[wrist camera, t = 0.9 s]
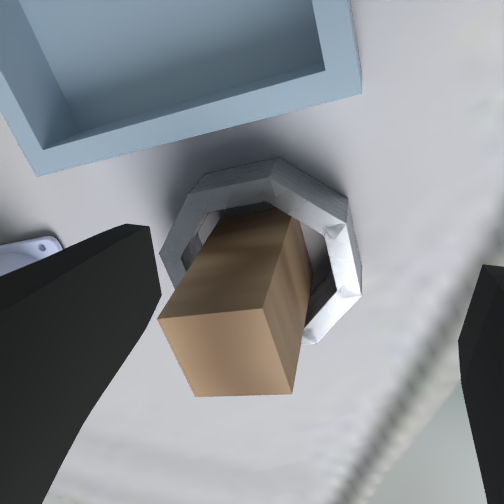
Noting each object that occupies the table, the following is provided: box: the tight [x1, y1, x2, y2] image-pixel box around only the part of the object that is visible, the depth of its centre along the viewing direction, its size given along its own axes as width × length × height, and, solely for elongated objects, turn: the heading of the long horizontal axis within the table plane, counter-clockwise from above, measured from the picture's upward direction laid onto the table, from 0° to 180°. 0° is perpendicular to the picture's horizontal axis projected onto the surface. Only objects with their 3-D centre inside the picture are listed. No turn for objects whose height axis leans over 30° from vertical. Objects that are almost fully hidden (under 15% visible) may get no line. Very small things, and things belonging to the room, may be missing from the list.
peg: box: [157, 209, 313, 397], centre depth 19 cm, size 4×4×8 cm
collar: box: [159, 157, 362, 345], centre depth 21 cm, size 9×9×2 cm
